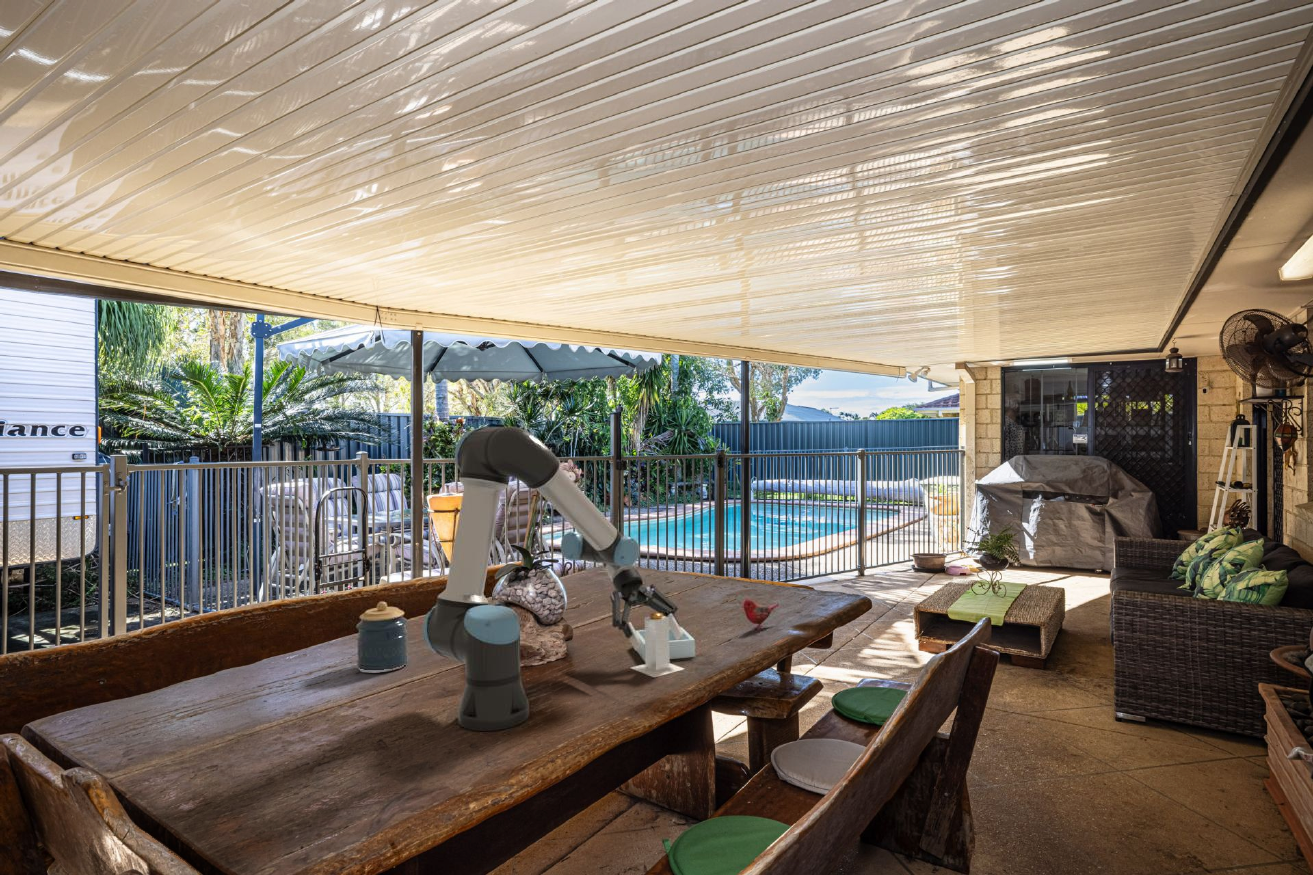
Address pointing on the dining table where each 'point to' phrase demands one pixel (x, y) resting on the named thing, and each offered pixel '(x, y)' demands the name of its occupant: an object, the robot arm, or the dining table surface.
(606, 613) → the dining table surface
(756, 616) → the decorative bird figurine
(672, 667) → the stud base
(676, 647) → the bin
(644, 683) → the dining table surface
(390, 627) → the canister
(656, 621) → the strut
